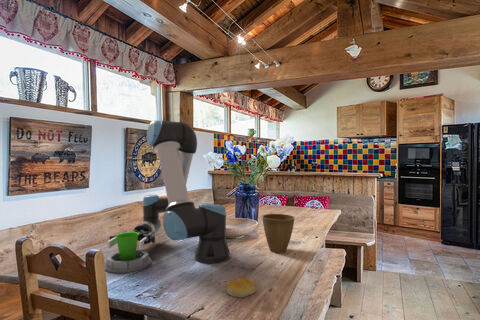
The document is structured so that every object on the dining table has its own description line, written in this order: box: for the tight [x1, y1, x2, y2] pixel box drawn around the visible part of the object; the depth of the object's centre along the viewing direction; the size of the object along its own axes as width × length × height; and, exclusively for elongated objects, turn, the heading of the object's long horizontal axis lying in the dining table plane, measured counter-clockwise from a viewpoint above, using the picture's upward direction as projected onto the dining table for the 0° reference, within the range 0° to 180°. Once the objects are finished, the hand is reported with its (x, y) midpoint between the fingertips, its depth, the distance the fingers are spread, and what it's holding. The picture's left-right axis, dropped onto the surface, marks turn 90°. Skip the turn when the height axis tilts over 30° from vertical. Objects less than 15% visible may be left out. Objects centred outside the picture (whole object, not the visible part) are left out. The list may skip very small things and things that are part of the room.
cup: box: [115, 231, 139, 261], centre depth 117 cm, size 9×9×11 cm
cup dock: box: [105, 249, 152, 274], centre depth 117 cm, size 18×18×4 cm
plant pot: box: [262, 213, 296, 254], centre depth 134 cm, size 15×15×16 cm
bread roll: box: [226, 277, 256, 298], centre depth 92 cm, size 8×9×4 cm
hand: (124, 245), depth 113 cm, fingers open, 12 cm apart
